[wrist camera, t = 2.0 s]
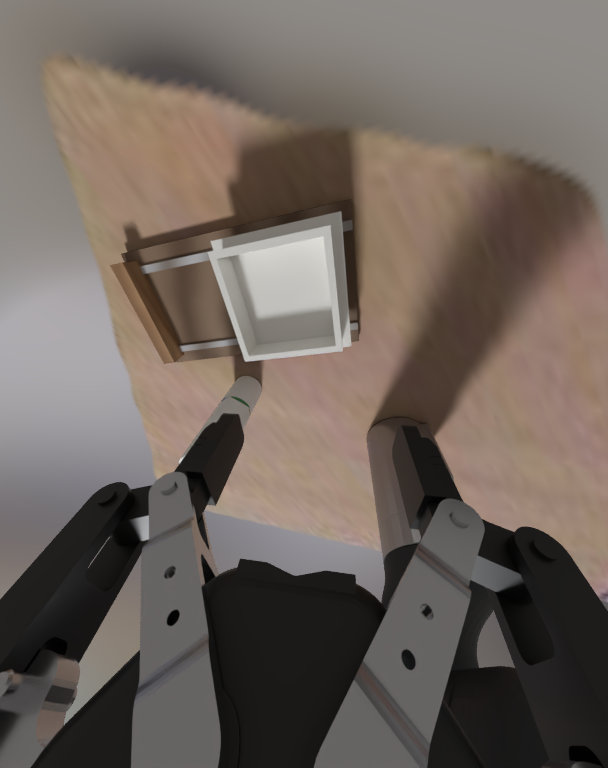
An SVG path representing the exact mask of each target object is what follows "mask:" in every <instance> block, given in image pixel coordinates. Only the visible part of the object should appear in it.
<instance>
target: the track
mask: <svg viewBox="0 0 608 768" xmlns="http://www.w3.org/2000/svg"><path fill="white" fill-rule="evenodd" d="M340 211H341V215H342V228H343V242H344V255H345V268H346V281H347V295H348V308H349V321H350V334H351V342H354V341H359V336H358V318H357V301H356V283H355V266H354V248H353V228H352V213H351V199H349V200H345V201H341V202H336V203H332V204H328V205H324V206H320V207H316V208H311V209H307V210H303V211H299V212H295V213H290V214H286V215H282V216H278V217H274V218H269V219H265V220H261V221H257V222H253V223H248V224H244V225H240V226H236V227H232V228H228V229H223V230H219V231H215V232H211V233H207V234H202V235H198V236H194V237H190V238H186V239H181V240H177V241H173V242H169V243H165V244H160V245H156V246H152V247H148V248H144V249H140V250H135V251H131V252H127V253H123V254H121V255H122V257H123V259H124V261H125V262H124V263H119V264H114V265H110V266H111V268H112V270H113V271H114V273H115V275H116V277H117V279H118V281H119V282H120V284H121V286H122V288H123V290H124V291H125V293H126V295H127V297H128V299H129V301H130V302H131V304H132V306H133V308H134V310H135V311H136V313H137V315H138V317H139V319H140V321H141V322H142V324H143V326H144V328H145V330H146V331H147V333H148V335H149V337H150V339H151V341H152V342H153V344H154V346H155V348H156V350H157V351H158V353H159V355H160V357H161V359H162V361H163V362H164V364H165V363H173V362H183V361H191V360H200V359H208V358H217V357H226V356H234V355H243V354H242V351H241V348H240V345H239V342H238V340H237V337H236V334H235V331H234V328H233V325H232V322H231V319H230V316H229V313H228V311H227V308H226V305H225V302H224V299H223V296H222V293H221V290H220V287H219V284H218V282H217V279H216V276H215V273H214V270H213V267H212V264H211V261H210V258H209V255H208V253H207V252H211V251H213V248H212V245H211V242H210V241H214V240H218V239H222V238H227V237H231V236H236V235H240V234H244V233H249V232H253V231H257V230H262V229H266V228H270V227H275V226H279V225H283V224H288V223H292V222H296V221H301V220H305V219H309V218H314V217H318V216H322V215H327V214H331V213H335V212H340Z"/></svg>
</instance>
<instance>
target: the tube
mask: <svg viewBox="0 0 608 768" xmlns="http://www.w3.org/2000/svg"><path fill="white" fill-rule="evenodd" d="M261 392H262V387H261V385H260V383H259V382H258V381H257V380H256V379H255V378H253V377H250V376H241V377H239V378H238V379H237V380H236V381H235V383H234V384H233V386H232V387H231V388H230V390H229V391H228V393H227V394H226V395H225V397H224V398H223V400H222V401H221V403H220V404H219V405H218V407H217V408H216V409H215V411H214V412H213V414H212V415H211V416H210V418H209V419H208V421H207V422H206V424H205V425H204V426H203V428H202V429H201V431H200V432H199V433H198V435H197V436H196V438H195V439H194V440H193V442H192V443H191V445H190V446H189V447H188V449H187V450H186V452H185V453H184V454H183V456H182V457H181V459H180V461H179V464H180V463H181V461H182V460H183V458H184V457H185V456H186V454H187V453H188V451H189V450H190V448H191V447H192V445H194V443H195V441H196V440H197V439H198V437H199V435H200V434H201V432H202V431H203V430H204V429H205V428H206V427H207V426H208V425H210V424H211V423H212V422H216V423H217V421H218V420H219V418H220V416H221V415H222V414H223V413H231V414H239V416H240V420H241V425H242V429H244V427H245V425H246V423H247V421H248V419H249V417H250V415H251V413H252V411H253V409H254V407H255V405H256V403H257V401H258V399H259V397H260V395H261Z"/></svg>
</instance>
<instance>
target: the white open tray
mask: <svg viewBox="0 0 608 768" xmlns="http://www.w3.org/2000/svg"><path fill="white" fill-rule="evenodd" d="M210 242H211V245H212V248H213V251H211V252H207V253H208V255H209V258H210V261H211V264H212V267H213V270H214V273H215V276H216V279H217V282H218V284H219V287H220V290H221V293H222V296H223V299H224V302H225V305H226V308H227V311H228V313H229V316H230V319H231V322H232V325H233V328H234V331H235V334H236V337H237V340H238V342H239V345H240V348H241V351H242V354H243V357H244V360H245V362H248V361H257V360H266V359H276V358H285V357H294V356H303V355H312V354H321V353H330V352H339V351H343V347H350V346H351V334H350V321H349V308H348V295H347V281H346V268H345V255H344V242H343V228H342V215H341V211H340V212H335V213H331V214H327V215H322V216H318V217H314V218H309V219H305V220H301V221H296V222H292V223H288V224H283V225H279V226H275V227H270V228H266V229H262V230H257V231H253V232H249V233H244V234H240V235H236V236H231V237H227V238H222V239H218V240H214V241H210Z"/></svg>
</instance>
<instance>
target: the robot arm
mask: <svg viewBox="0 0 608 768" xmlns="http://www.w3.org/2000/svg"><path fill="white" fill-rule="evenodd" d="M243 443H244V434H243V429H242V425H241V420H240V416H239V414H231V413H223V414H222V415H221V416H220V418H219V420H218V421H217V423H216V422H212V423H211V424H210V425H208V426H207V427H206V428H205V429H204V430H203V431H202V432H201V434H200V435H199V437H198V439H197V440H196V441H195V443H194V445H192V447H191V448H190V450H189V451H188V453H187V454H186V456H185V457H184V458H183V460H182V461H181V463H180V464H179V466H178V467H177V468H176V470H175V471H174V472H172V473H169V474H166V475H164V476H162V477H161V478H159V479H158V480H157V481H156V482H155V483H154V484H153V485H151V486H146V487H141V488H136V489H131V490H130V488H129V487H128V485H127V484H125V483H122V482H116V483H113V484H109V485H107V486H105V487H103V488H101V489H100V490H99V491H97V492H96V493H95V494H93V495H92V497H91V498H90V499H89V500H88V501H87V502H86V503H85V504H84V505H83V507H82V508H81V509H80V510H79V511H78V512H77V513H76V514H75V516H74V517H73V518H72V519H71V520H70V521H69V522H68V524H67V525H66V526H65V527H64V528H63V529H62V530H61V532H60V533H59V534H58V535H57V536H56V537H55V538H54V539H53V541H52V542H51V543H50V544H49V545H48V546H47V547H46V548H45V550H44V551H43V552H42V553H41V554H40V555H39V556H38V557H37V559H36V560H35V561H34V562H33V563H32V564H31V566H30V567H29V568H28V569H27V570H26V571H25V572H24V573H23V574H22V576H21V577H20V578H19V579H18V580H17V581H16V582H15V584H14V585H13V586H12V587H11V588H10V589H9V590H8V591H7V593H6V594H5V595H4V596H3V597H2V598H1V599H0V768H608V611H607V610H606V608H605V607H604V605H603V604H602V602H601V601H600V599H599V598H598V596H597V595H596V593H595V592H594V590H593V589H592V587H591V586H590V584H589V583H588V581H587V580H586V578H585V577H584V575H583V574H582V573H581V571H580V570H579V568H578V567H577V565H576V564H575V562H574V561H573V559H572V558H571V556H570V555H569V553H568V552H567V551H566V550H565V548H564V547H563V546H562V545H561V544H560V543H558V542H557V541H556V540H555V539H554V538H552V537H551V536H549V535H548V534H546V533H544V532H542V531H540V530H538V529H535V528H532V527H520V528H518V529H517V530H516V531H515V532H513V531H510V530H507V529H505V528H502V527H500V526H497V525H494V524H492V523H489V522H487V521H485V520H483V519H481V517H480V516H479V515H478V513H477V512H476V511H475V510H474V509H473V508H472V507H470V506H469V505H467V504H466V503H464V502H463V500H462V498H461V496H460V494H459V492H458V490H457V488H456V486H455V484H454V482H453V481H454V479H453V475H452V473H451V471H450V469H449V467H448V465H447V463H446V461H445V458H444V456H443V454H442V452H441V450H440V448H439V446H438V444H437V442H436V440H435V438H434V435H433V433H432V431H431V429H430V427H429V425H428V424H421V423H418V422H416V421H414V420H412V419H408V418H401V417H399V418H390V419H386V420H383V421H381V422H379V423H377V424H376V425H374V426H373V427H372V428H371V429H370V431H369V432H368V435H367V448H368V454H369V461H370V468H371V476H372V483H373V490H374V497H375V505H376V512H377V519H378V526H379V533H380V541H381V548H382V554H383V562H384V570H385V586H384V591H383V595H382V603H381V602H379V600H378V599H377V598H376V597H375V596H374V595H372V594H371V593H370V592H369V591H367V590H366V589H364V588H363V587H361V586H359V585H357V584H356V578H355V575H353V574H346V573H339V572H331V571H322V572H316V573H310V574H305V575H299V576H293V575H291V574H289V573H287V572H285V571H283V570H281V569H279V568H277V567H275V566H273V565H271V564H269V563H267V562H260V561H253V560H246V559H240V561H239V564H238V567H237V568H234V569H230V570H227V571H225V572H223V573H221V574H219V573H218V570H217V566H216V563H215V560H214V558H213V554H212V549H211V545H210V540H209V535H208V530H207V526H206V521H205V516H204V513H203V512H204V510H205V508H206V506H207V505H215V506H216V504H217V502H218V499H219V497H220V495H221V493H222V491H223V488H224V486H225V484H226V482H227V480H228V477H229V475H230V473H231V471H232V469H233V466H234V464H235V462H236V460H237V458H238V455H239V453H240V451H241V449H242V446H243ZM108 537H110V538H109V540H108V541H107V542H106V544H105V545H104V543H105V541H106V540H107V539H108ZM103 545H104V547H103V548H102V550H101V551H100V552H99V550H100V549H101V547H102V546H103ZM98 552H99V554H98V555H97V557H96V558H95V559H94V557H95V556H96V554H97V553H98ZM141 553H142V560H141V561H142V562H141V621H140V650H139V651H138V652H137V653H136V654H135V655H134V656H133V657H132V658H131V659H130V660H129V661H128V662H127V663H126V664H125V665H124V666H123V667H122V668H121V669H120V670H119V671H118V672H117V673H116V674H115V675H114V676H113V677H112V678H111V679H110V680H109V681H108V682H107V683H106V684H105V685H104V686H103V687H102V688H101V689H100V690H99V691H98V692H97V693H96V694H95V695H94V696H93V697H92V698H91V699H90V700H89V701H88V702H87V703H86V704H85V705H84V706H83V707H82V708H81V709H80V710H79V711H78V712H77V713H76V714H75V715H74V716H73V717H72V718H71V719H70V720H69V721H68V722H67V723H66V724H65V725H64V719H65V715H66V711H67V710H68V709H69V708H70V707H71V705H72V704H73V702H74V700H75V697H76V695H77V684H78V680H79V675H80V668H79V662H80V660H81V659H82V657H83V655H84V653H85V651H86V650H87V648H88V646H89V644H90V643H91V641H92V639H93V637H94V636H95V634H96V632H97V630H98V629H99V627H100V625H101V623H102V621H103V620H104V618H105V616H106V614H107V612H108V611H109V609H110V607H111V605H112V604H113V602H114V600H115V599H116V597H117V595H118V593H119V592H120V590H121V588H122V586H123V584H124V583H125V581H126V579H127V578H128V576H129V574H130V572H131V570H132V569H133V567H134V565H135V563H136V562H137V560H138V558H139V556H140V555H141ZM93 559H94V561H93V562H92V564H91V565H90V563H91V561H92V560H93ZM89 565H90V567H89ZM88 567H89V568H88ZM493 610H494V612H495V615H496V617H497V620H498V623H499V625H500V628H501V631H502V633H503V636H504V639H505V641H506V644H507V647H508V649H509V652H510V655H511V658H512V660H513V663H514V666H515V668H512V667H505V666H497V667H485V668H479V666H478V661H477V642H478V637H479V634H480V632H481V629H482V627H483V625H484V624H485V622H486V620H487V619H488V617H489V616H490V615H491V613H492V612H493Z"/></svg>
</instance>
